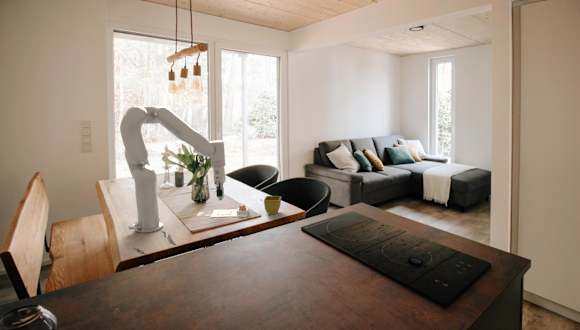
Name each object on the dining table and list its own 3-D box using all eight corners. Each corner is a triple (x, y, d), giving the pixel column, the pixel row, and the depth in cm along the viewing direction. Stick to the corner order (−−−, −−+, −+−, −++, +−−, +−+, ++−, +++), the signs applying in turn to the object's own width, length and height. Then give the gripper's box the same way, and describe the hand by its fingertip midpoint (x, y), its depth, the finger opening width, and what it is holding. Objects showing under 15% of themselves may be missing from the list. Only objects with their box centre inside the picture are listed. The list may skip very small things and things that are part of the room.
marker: (220, 201, 174) (219, 181, 172) (216, 200, 176) (215, 181, 174) (225, 199, 176) (224, 180, 174) (220, 198, 178) (219, 179, 176)
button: (239, 211, 176) (238, 206, 175) (239, 209, 179) (239, 204, 179) (245, 211, 176) (245, 206, 175) (245, 209, 179) (245, 204, 179)
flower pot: (281, 211, 183) (281, 196, 181) (279, 216, 174) (279, 200, 173) (266, 210, 184) (266, 195, 182) (264, 215, 175) (263, 200, 173)
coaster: (196, 217, 173) (196, 216, 173) (199, 212, 180) (199, 212, 180) (209, 216, 173) (209, 215, 173) (211, 212, 180) (211, 211, 180)
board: (210, 218, 171) (209, 213, 171) (214, 211, 183) (214, 206, 182) (247, 217, 172) (246, 212, 172) (248, 210, 184) (248, 205, 183)
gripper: (222, 165, 164) (224, 199, 168) (227, 160, 180) (229, 191, 184) (208, 166, 164) (210, 200, 167) (214, 160, 180) (216, 191, 183)
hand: (220, 195), depth 176 cm, fingers closed on marker, 3 cm apart
